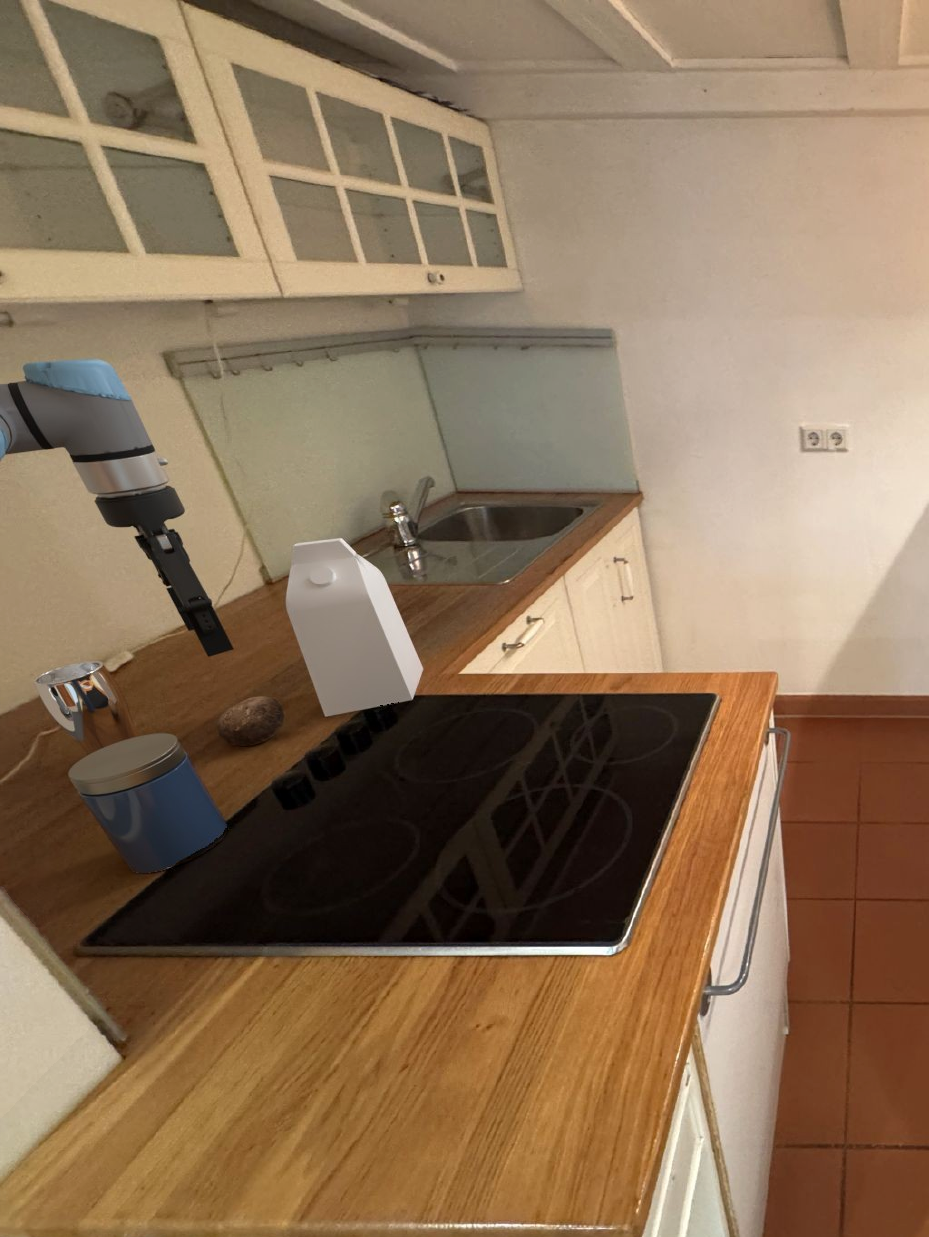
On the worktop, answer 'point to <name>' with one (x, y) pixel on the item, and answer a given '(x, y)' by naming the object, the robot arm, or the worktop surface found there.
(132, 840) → the jar
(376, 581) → the milk
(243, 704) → the brown potato
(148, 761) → the jar lid
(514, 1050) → the worktop surface
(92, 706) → the shiny silver metal cup
